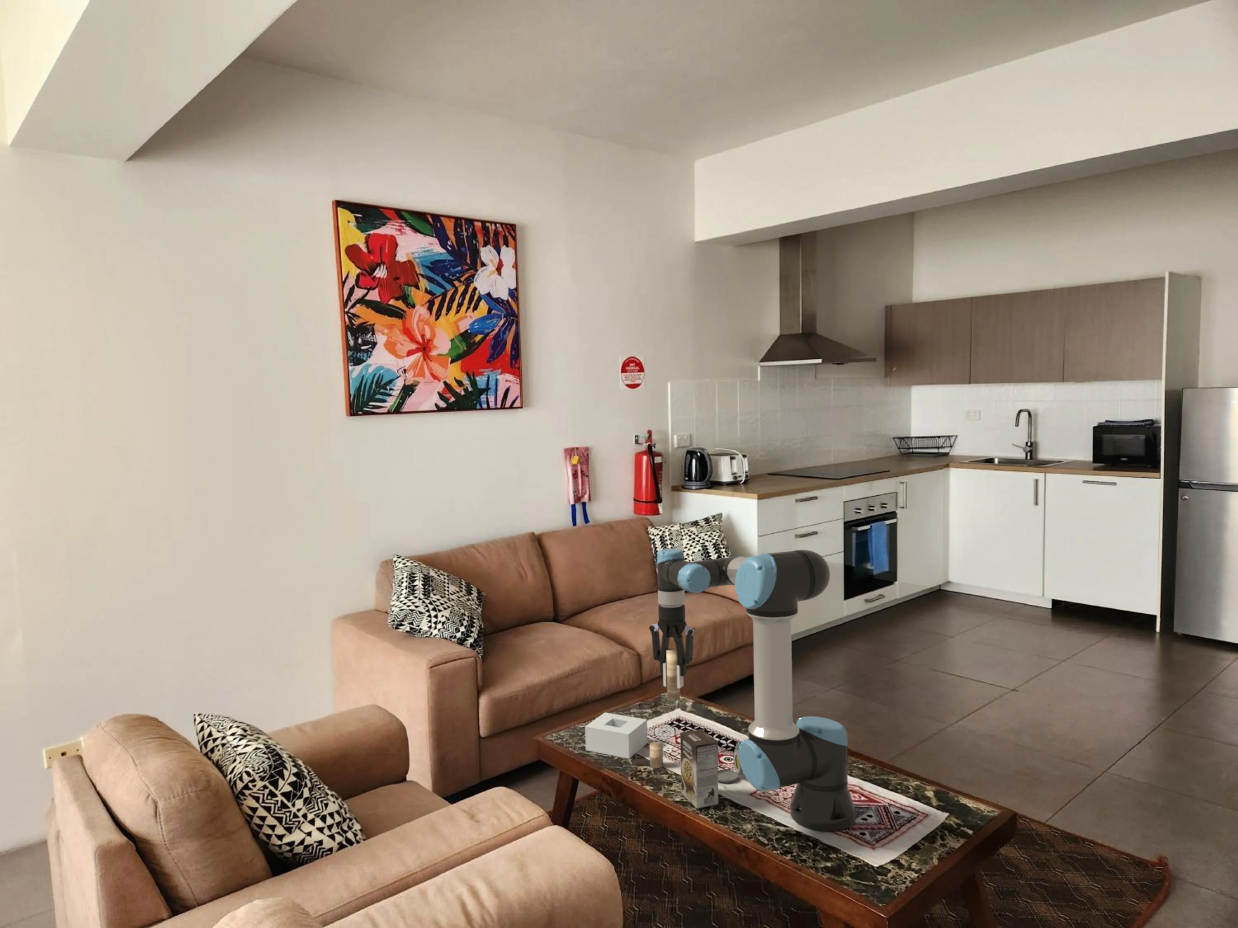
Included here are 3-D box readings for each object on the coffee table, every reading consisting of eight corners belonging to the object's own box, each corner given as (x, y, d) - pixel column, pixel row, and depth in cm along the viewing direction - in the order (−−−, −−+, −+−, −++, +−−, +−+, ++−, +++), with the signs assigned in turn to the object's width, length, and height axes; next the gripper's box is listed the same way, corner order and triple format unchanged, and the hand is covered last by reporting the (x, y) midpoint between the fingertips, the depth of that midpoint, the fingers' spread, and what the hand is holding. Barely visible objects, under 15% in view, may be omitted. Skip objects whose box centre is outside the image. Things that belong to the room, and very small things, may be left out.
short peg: (659, 769, 230) (659, 747, 229) (647, 767, 231) (647, 745, 231) (665, 764, 233) (664, 743, 232) (653, 761, 235) (653, 740, 234)
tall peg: (677, 701, 237) (675, 652, 236) (665, 699, 238) (664, 650, 237) (682, 697, 240) (681, 648, 239) (670, 695, 242) (669, 647, 241)
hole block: (629, 758, 237) (628, 734, 237) (585, 749, 244) (585, 726, 243) (647, 742, 248) (647, 719, 247) (605, 734, 254) (604, 712, 254)
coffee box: (680, 793, 215) (679, 731, 214) (702, 788, 218) (701, 727, 217) (696, 809, 207) (695, 745, 206) (719, 804, 209) (718, 740, 208)
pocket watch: (707, 778, 224) (707, 741, 223) (728, 768, 229) (728, 732, 228) (731, 788, 217) (730, 750, 217) (752, 778, 223) (751, 741, 222)
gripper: (704, 603, 237) (705, 685, 238) (650, 598, 244) (652, 678, 246) (693, 609, 230) (695, 693, 232) (639, 604, 238) (641, 686, 239)
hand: (673, 685), depth 239 cm, fingers closed on tall peg, 3 cm apart
